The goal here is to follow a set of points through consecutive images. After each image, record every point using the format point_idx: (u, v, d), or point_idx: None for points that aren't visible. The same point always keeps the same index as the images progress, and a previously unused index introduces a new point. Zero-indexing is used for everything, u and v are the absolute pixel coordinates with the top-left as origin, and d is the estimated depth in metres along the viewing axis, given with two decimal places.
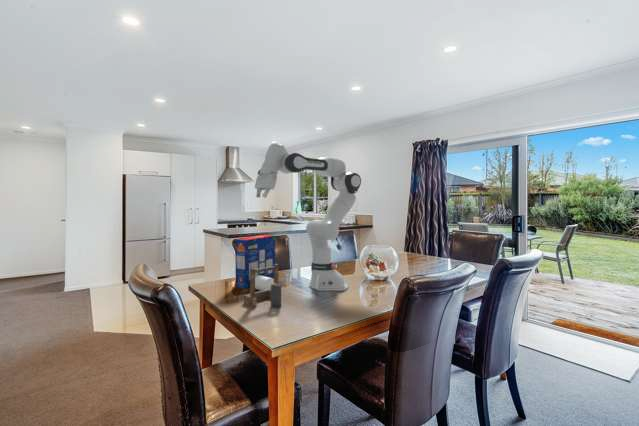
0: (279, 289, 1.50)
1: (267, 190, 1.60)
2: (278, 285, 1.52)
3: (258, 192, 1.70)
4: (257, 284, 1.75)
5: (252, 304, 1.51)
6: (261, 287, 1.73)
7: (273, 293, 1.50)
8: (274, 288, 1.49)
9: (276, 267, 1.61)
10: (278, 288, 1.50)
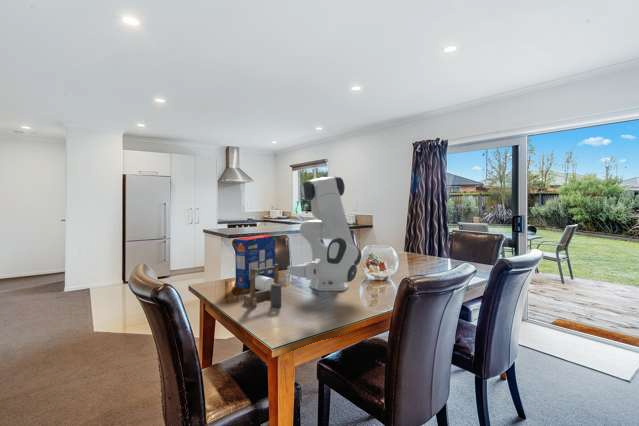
0: (279, 289, 1.50)
1: None
2: (278, 285, 1.52)
3: None
4: (257, 284, 1.75)
5: (252, 304, 1.51)
6: (261, 287, 1.73)
7: (273, 293, 1.50)
8: (274, 288, 1.49)
9: (276, 267, 1.61)
10: (278, 288, 1.50)
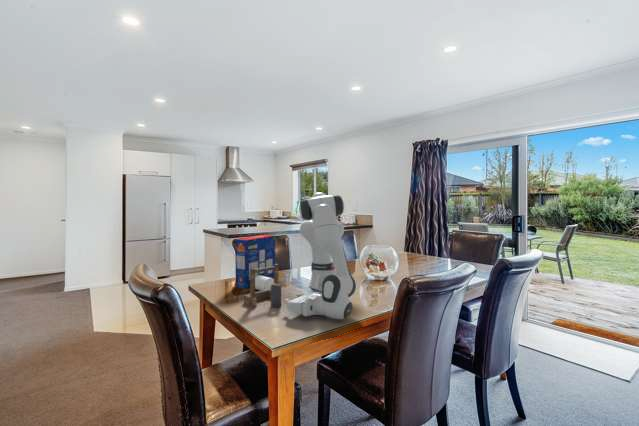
0: (279, 289, 1.50)
1: None
2: (278, 285, 1.52)
3: None
4: (257, 284, 1.75)
5: (252, 304, 1.51)
6: (261, 287, 1.73)
7: (273, 293, 1.50)
8: (274, 288, 1.49)
9: (276, 267, 1.61)
10: (278, 288, 1.50)
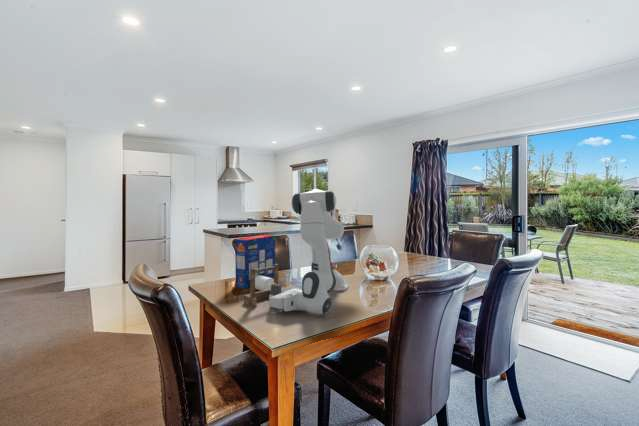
0: (279, 289, 1.50)
1: None
2: (278, 285, 1.52)
3: None
4: (257, 284, 1.75)
5: (252, 304, 1.51)
6: (261, 287, 1.73)
7: (273, 293, 1.50)
8: (274, 288, 1.49)
9: (276, 267, 1.61)
10: (278, 288, 1.50)
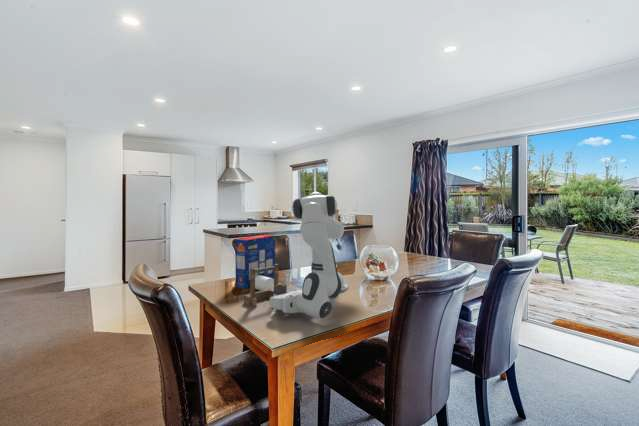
0: (283, 289, 1.46)
1: None
2: (283, 285, 1.47)
3: None
4: (257, 284, 1.75)
5: (252, 304, 1.51)
6: (261, 287, 1.73)
7: (277, 293, 1.46)
8: (278, 288, 1.45)
9: (276, 267, 1.61)
10: (282, 288, 1.45)
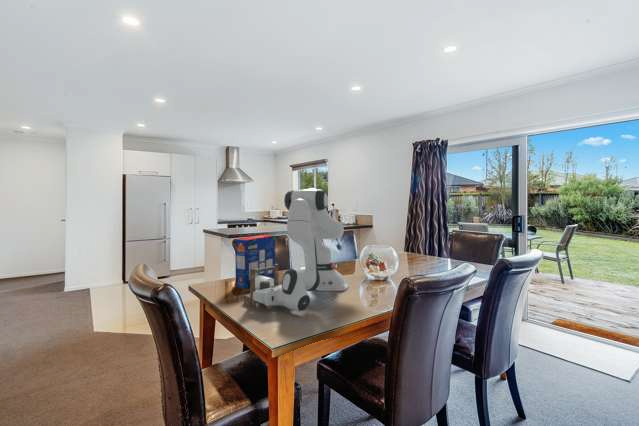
0: (267, 286, 1.55)
1: None
2: (267, 282, 1.56)
3: None
4: (257, 284, 1.75)
5: (252, 304, 1.51)
6: None
7: None
8: (262, 285, 1.54)
9: (276, 267, 1.61)
10: (266, 285, 1.55)
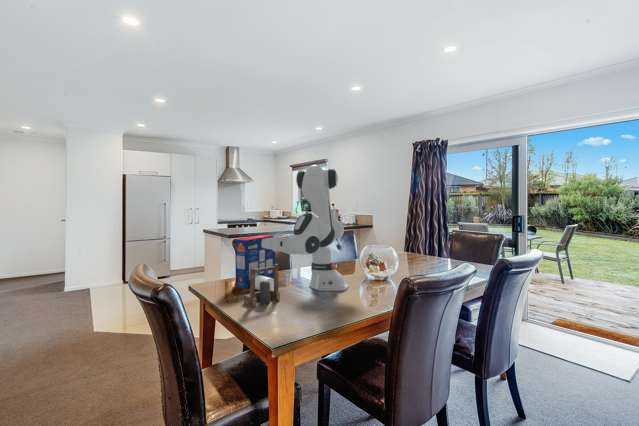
0: (267, 286, 1.55)
1: None
2: (267, 282, 1.56)
3: None
4: (257, 284, 1.75)
5: (252, 304, 1.51)
6: None
7: (261, 290, 1.55)
8: (262, 285, 1.54)
9: (276, 267, 1.61)
10: (266, 285, 1.55)
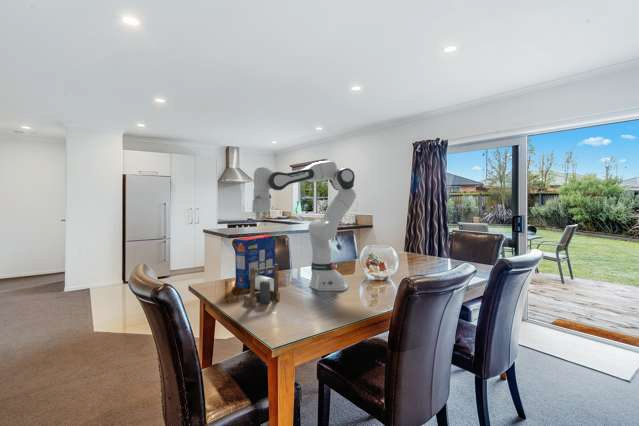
0: (267, 286, 1.55)
1: (257, 214, 1.76)
2: (267, 282, 1.56)
3: (264, 214, 1.88)
4: (257, 284, 1.75)
5: (252, 304, 1.51)
6: None
7: (261, 290, 1.55)
8: (262, 285, 1.54)
9: (276, 267, 1.61)
10: (266, 285, 1.55)
